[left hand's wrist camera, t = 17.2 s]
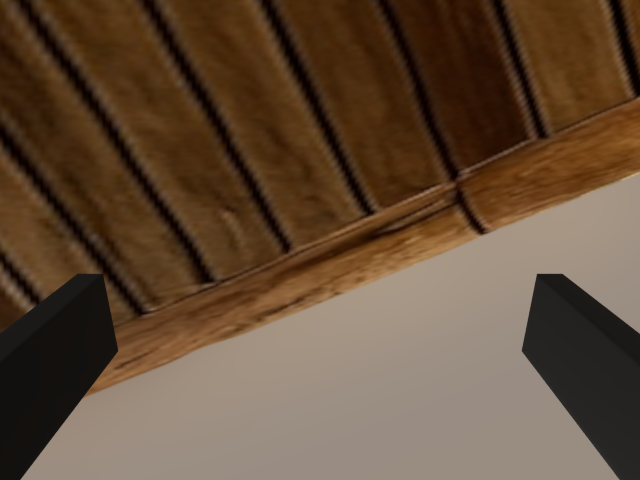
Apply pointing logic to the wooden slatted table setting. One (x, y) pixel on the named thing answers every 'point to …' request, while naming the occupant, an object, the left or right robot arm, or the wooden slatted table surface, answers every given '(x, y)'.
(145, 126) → the wooden slatted table surface
